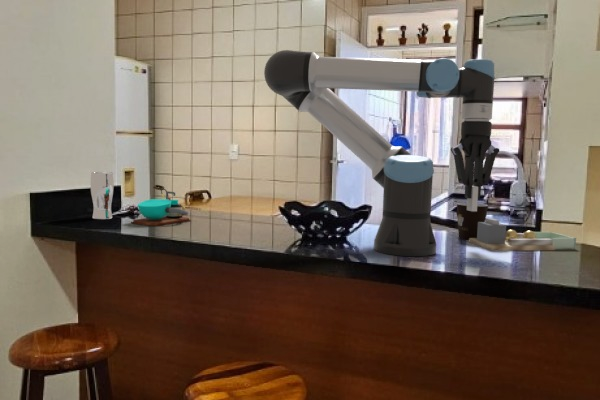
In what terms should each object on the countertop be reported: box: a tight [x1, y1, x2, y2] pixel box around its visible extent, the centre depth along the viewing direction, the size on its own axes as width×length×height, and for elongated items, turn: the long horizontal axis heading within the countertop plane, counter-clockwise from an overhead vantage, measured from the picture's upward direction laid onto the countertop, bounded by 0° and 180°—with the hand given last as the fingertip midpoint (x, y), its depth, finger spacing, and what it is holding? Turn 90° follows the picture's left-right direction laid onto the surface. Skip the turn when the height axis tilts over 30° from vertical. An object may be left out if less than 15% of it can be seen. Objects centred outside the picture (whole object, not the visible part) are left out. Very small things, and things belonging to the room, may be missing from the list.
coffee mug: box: [456, 202, 489, 241], centre depth 154 cm, size 12×9×10 cm
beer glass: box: [90, 171, 115, 220], centre depth 170 cm, size 7×7×15 cm
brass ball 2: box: [523, 230, 536, 239], centre depth 143 cm, size 3×3×3 cm
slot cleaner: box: [477, 217, 507, 244], centre depth 141 cm, size 5×6×6 cm
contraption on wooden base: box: [131, 184, 192, 227], centre depth 165 cm, size 14×18×15 cm
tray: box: [533, 231, 577, 250], centre depth 145 cm, size 7×10×3 cm
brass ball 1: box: [505, 229, 518, 240], centre depth 144 cm, size 3×3×3 cm
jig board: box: [468, 232, 556, 251], centre depth 143 cm, size 18×12×3 cm, turn 101°
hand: (471, 210), depth 139 cm, fingers closed
